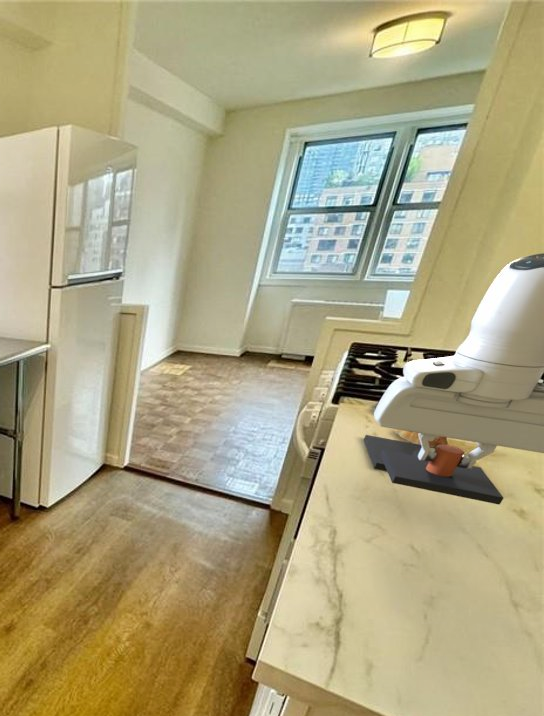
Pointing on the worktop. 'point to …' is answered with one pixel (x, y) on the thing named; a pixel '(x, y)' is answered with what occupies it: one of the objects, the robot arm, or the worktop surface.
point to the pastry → (415, 439)
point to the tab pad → (437, 483)
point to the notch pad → (379, 444)
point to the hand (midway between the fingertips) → (442, 463)
